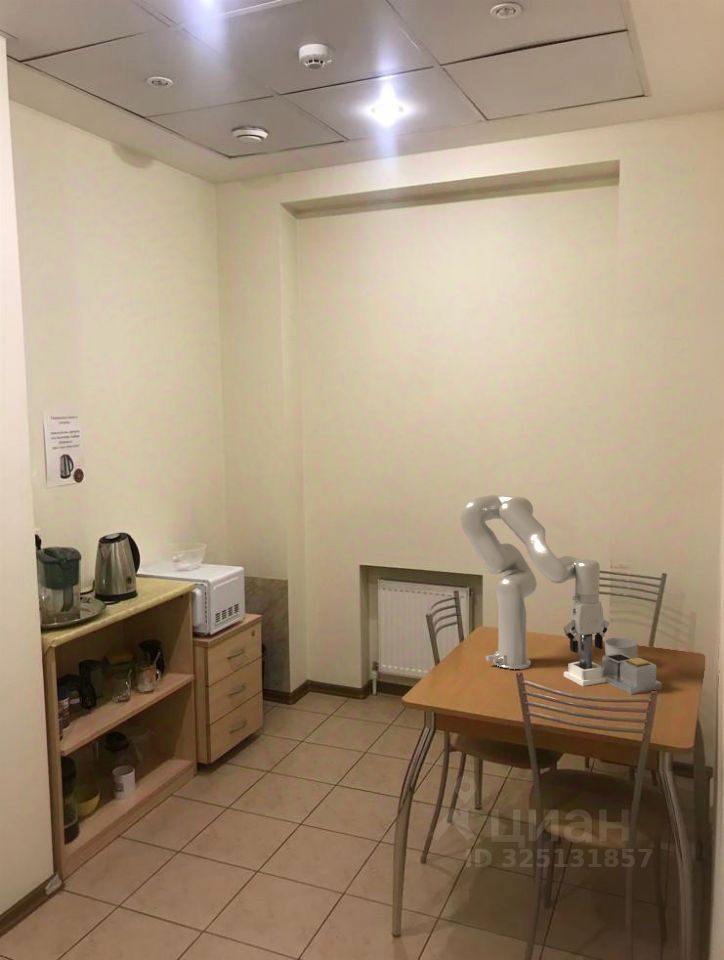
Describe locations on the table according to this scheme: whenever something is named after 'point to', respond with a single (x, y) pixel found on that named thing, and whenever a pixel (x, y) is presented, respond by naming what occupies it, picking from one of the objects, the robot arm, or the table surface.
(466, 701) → the table surface
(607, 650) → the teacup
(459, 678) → the table surface
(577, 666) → the white square socket
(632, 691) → the block
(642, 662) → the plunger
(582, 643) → the blue-grey cylinder
